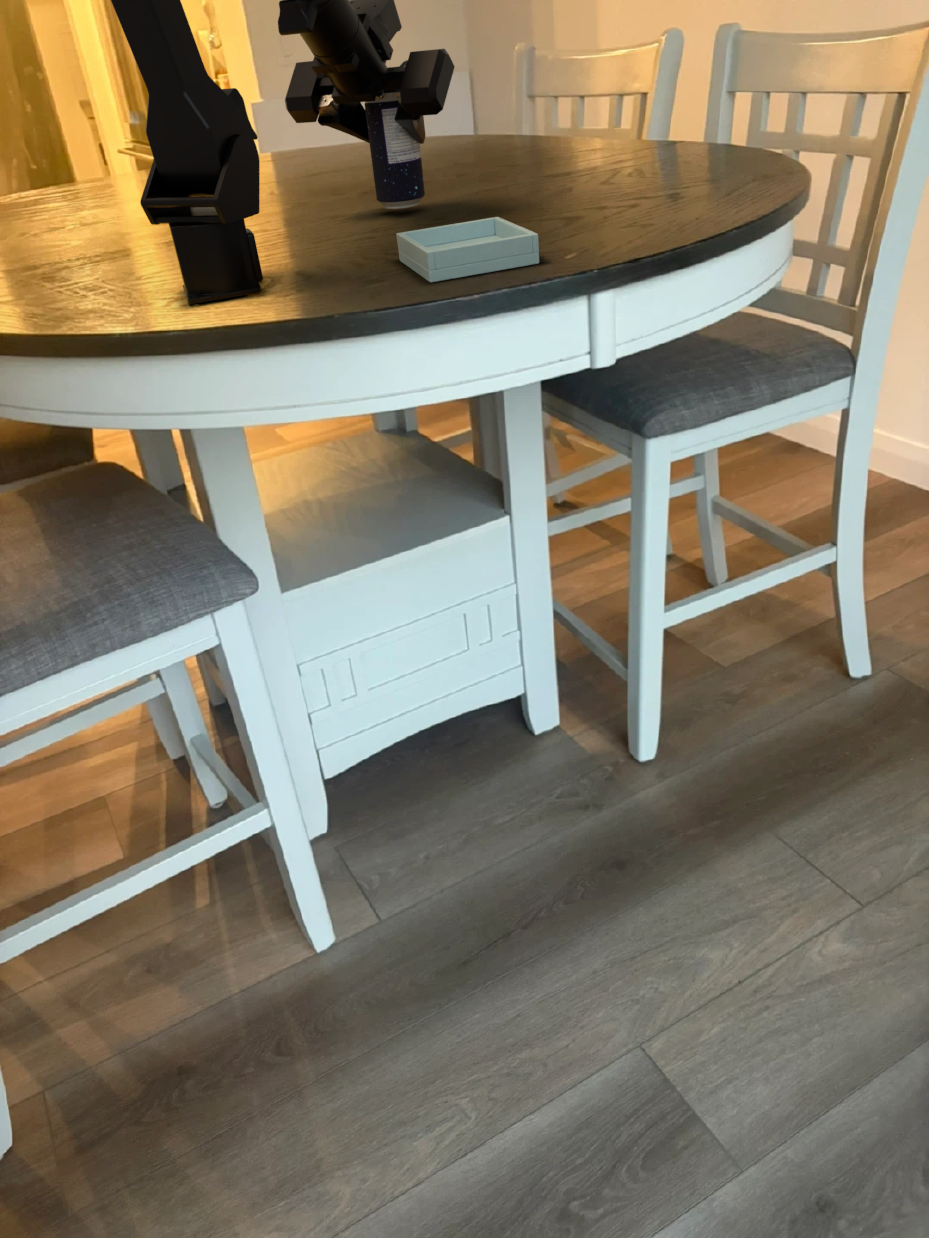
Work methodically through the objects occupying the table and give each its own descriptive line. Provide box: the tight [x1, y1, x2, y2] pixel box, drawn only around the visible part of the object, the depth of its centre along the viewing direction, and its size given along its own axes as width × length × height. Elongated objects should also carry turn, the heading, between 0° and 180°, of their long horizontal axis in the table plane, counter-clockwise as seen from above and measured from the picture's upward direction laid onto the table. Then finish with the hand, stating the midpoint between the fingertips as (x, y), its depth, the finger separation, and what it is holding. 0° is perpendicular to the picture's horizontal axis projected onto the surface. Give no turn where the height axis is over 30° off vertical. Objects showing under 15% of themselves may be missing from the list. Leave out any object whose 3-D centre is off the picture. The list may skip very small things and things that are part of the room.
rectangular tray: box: [395, 216, 540, 284], centre depth 83 cm, size 10×10×2 cm
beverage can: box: [364, 92, 426, 210], centre depth 104 cm, size 6×6×12 cm
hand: (400, 141), depth 105 cm, fingers closed on beverage can, 5 cm apart
